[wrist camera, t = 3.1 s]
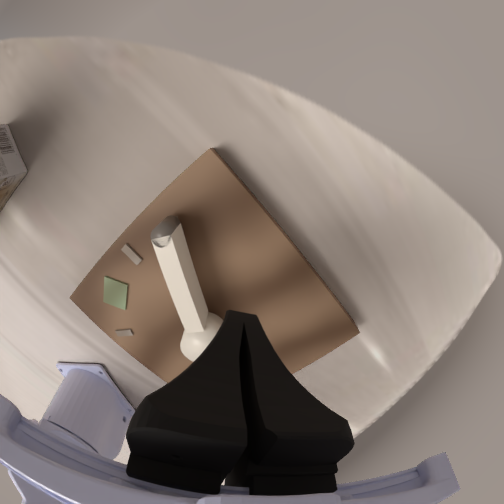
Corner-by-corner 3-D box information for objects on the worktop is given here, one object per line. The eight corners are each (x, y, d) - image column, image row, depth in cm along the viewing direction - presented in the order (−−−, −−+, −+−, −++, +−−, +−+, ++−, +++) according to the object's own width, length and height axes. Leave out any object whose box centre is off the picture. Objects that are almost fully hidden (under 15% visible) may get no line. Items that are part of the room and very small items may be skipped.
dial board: (354, 322, 22) (360, 334, 20) (212, 401, 26) (211, 413, 24) (213, 147, 17) (209, 148, 15) (77, 289, 21) (68, 299, 19)
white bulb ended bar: (231, 340, 20) (229, 362, 18) (193, 345, 20) (188, 366, 18) (191, 210, 16) (183, 220, 14) (147, 221, 16) (133, 233, 14)
